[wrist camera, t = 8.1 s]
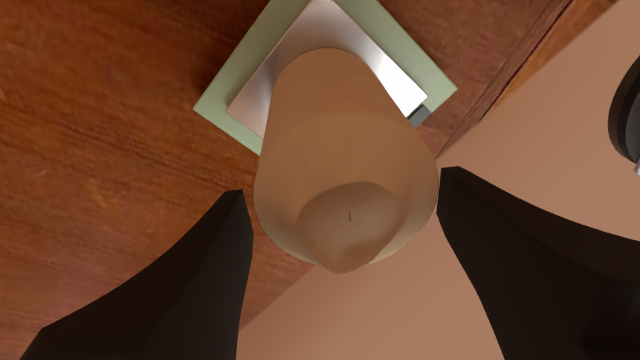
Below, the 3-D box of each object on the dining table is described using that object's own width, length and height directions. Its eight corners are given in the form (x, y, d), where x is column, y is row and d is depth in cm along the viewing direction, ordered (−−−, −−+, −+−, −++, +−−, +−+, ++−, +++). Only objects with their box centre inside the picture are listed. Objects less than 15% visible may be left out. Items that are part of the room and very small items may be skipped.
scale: (445, 78, 20) (460, 90, 18) (329, 189, 24) (331, 208, 22) (315, -62, 16) (317, -66, 14) (200, 96, 20) (190, 110, 18)
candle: (356, 162, 19) (402, 315, 11) (260, 136, 18) (228, 285, 10) (398, 67, 17) (502, 172, 8) (288, 29, 16) (278, 106, 7)
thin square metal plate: (424, 91, 18) (429, 96, 18) (330, 182, 21) (331, 189, 20) (320, -15, 15) (320, -14, 15) (226, 107, 18) (223, 111, 17)
